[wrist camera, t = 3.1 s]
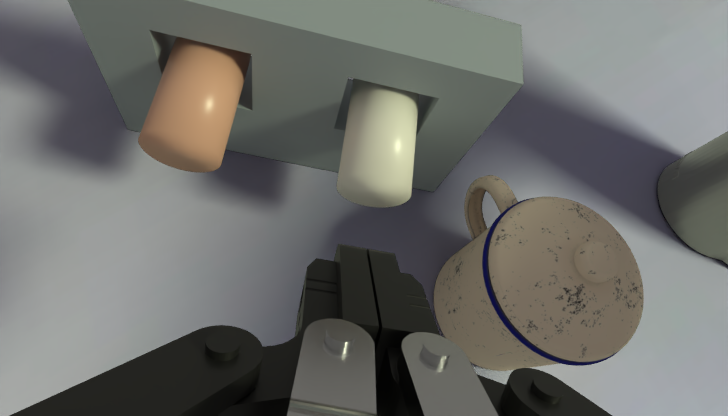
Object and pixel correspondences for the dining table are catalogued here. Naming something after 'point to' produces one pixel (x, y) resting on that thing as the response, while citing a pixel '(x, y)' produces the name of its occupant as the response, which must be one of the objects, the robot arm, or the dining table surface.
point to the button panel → (319, 68)
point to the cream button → (378, 145)
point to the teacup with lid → (538, 284)
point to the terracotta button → (194, 106)
